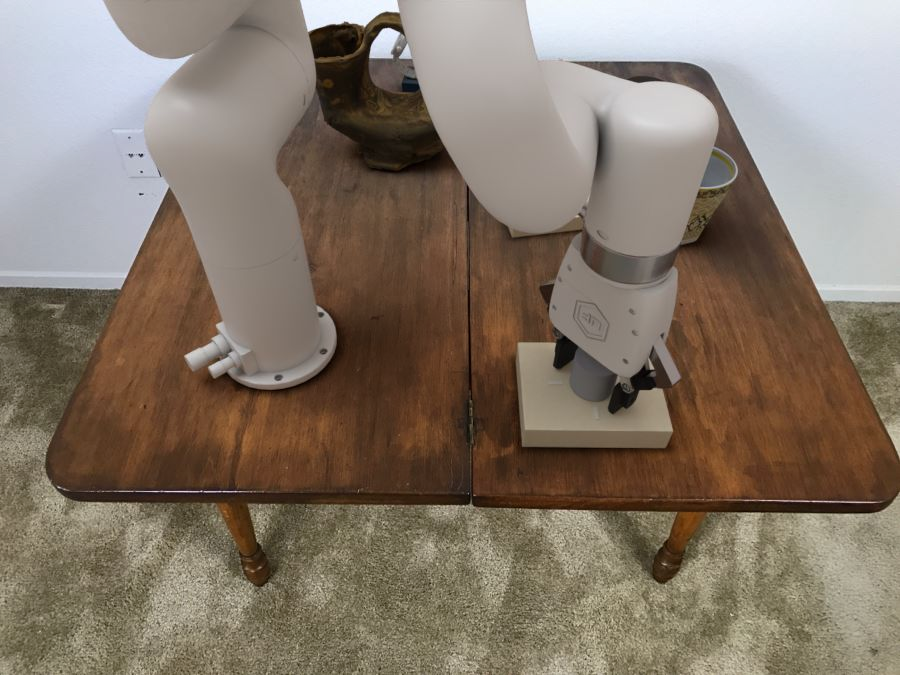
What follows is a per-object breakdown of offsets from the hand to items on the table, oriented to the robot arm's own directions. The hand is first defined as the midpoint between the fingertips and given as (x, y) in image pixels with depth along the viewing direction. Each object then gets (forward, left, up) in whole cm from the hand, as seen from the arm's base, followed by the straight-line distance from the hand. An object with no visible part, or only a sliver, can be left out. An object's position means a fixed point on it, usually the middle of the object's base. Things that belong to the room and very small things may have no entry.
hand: (592, 381), depth 67 cm
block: (+20, +25, -3) cm, 32 cm away
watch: (+26, +60, -4) cm, 66 cm away
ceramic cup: (+31, +12, -4) cm, 33 cm away
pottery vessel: (+13, +48, -4) cm, 50 cm away
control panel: (0, 0, -3) cm, 3 cm away
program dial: (0, 0, 0) cm, 0 cm away
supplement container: (+39, +26, -4) cm, 47 cm away
